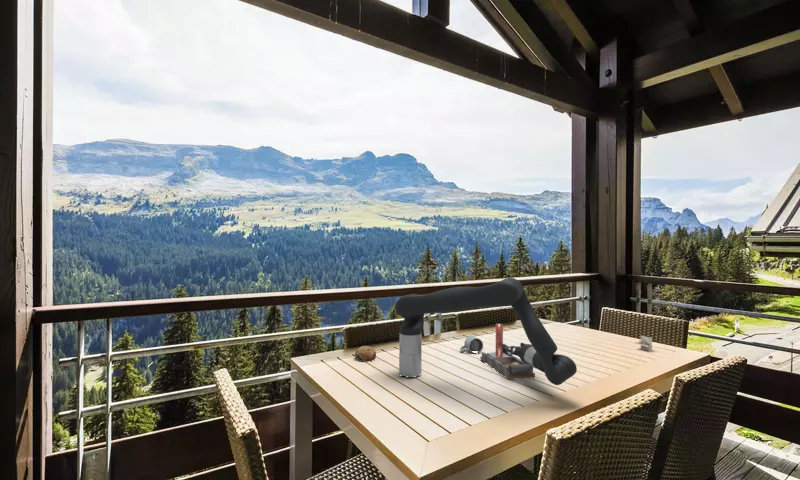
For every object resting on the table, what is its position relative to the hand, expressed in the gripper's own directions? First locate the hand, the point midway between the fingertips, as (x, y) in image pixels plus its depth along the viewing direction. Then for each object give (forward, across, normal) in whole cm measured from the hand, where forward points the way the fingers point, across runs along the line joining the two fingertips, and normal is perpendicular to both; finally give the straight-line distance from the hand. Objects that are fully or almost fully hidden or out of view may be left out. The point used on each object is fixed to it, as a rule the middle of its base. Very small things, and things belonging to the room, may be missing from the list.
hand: (512, 345), depth 166 cm
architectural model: (+14, -83, +12) cm, 85 cm away
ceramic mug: (+32, +5, +11) cm, 34 cm away
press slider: (+11, 0, +10) cm, 15 cm away
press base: (+5, 0, +11) cm, 12 cm away
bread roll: (+33, +58, +11) cm, 68 cm away
